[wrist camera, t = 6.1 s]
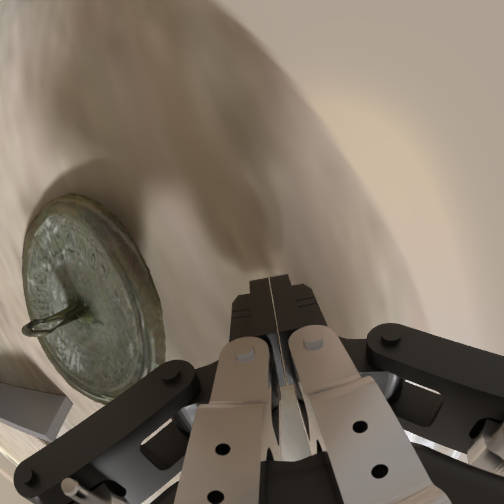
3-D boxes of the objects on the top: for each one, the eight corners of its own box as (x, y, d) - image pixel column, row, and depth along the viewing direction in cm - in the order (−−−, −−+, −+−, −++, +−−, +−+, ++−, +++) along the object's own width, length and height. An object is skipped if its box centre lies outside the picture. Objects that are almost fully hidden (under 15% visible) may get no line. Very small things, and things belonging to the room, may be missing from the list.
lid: (136, 387, 15) (113, 448, 10) (17, 300, 13) (-26, 341, 8) (226, 268, 12) (215, 340, 7) (60, 150, 10) (-16, 161, 5)
